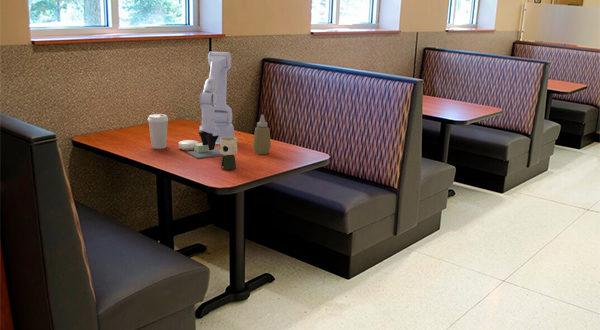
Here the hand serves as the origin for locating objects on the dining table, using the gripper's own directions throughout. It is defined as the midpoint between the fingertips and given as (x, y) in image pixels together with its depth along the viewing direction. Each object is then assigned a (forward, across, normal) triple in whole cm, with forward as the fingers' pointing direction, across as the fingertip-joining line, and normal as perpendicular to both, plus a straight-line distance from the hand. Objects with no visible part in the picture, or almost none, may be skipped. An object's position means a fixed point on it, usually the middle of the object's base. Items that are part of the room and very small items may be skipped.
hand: (208, 148), depth 271 cm
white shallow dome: (+2, -13, -4) cm, 14 cm away
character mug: (+3, +25, -3) cm, 25 cm away
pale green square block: (+2, -5, -2) cm, 5 cm away
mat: (+2, 0, 0) cm, 3 cm away
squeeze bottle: (+3, +10, +22) cm, 24 cm away
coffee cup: (+2, -22, -15) cm, 27 cm away
